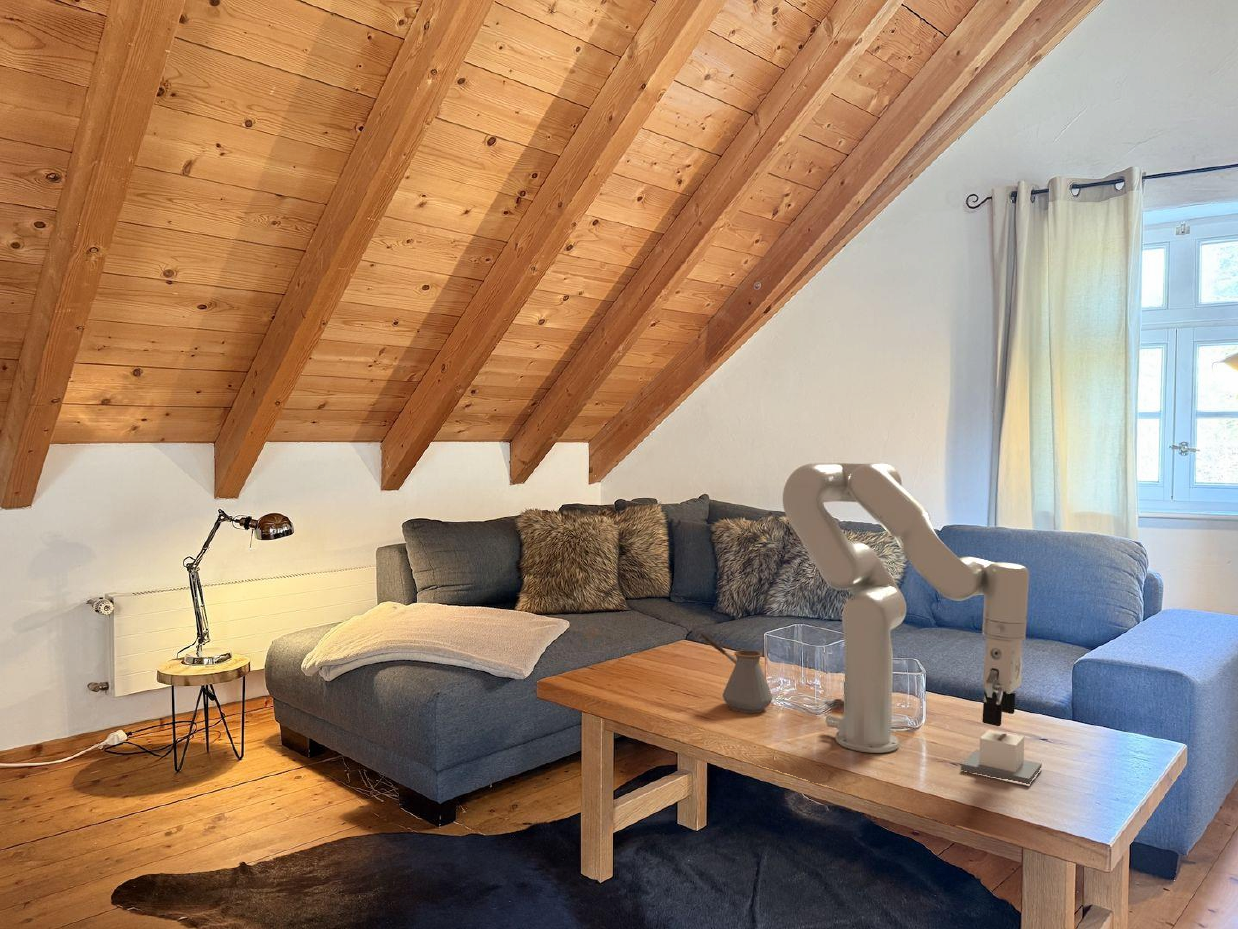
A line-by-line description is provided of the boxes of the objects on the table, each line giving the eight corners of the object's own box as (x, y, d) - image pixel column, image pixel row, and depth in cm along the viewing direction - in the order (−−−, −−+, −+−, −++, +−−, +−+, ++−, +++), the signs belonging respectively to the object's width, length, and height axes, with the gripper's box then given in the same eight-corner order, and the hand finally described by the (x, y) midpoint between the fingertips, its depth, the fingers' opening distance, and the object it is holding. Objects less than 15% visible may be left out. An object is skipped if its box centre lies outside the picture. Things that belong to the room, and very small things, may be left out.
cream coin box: (1015, 772, 166) (1015, 744, 166) (979, 764, 170) (979, 737, 169) (1023, 762, 171) (1024, 735, 171) (988, 755, 175) (989, 728, 174)
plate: (960, 771, 170) (961, 763, 170) (975, 757, 178) (976, 749, 178) (1028, 787, 163) (1029, 778, 163) (1041, 771, 171) (1041, 763, 171)
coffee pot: (782, 709, 208) (783, 645, 208) (749, 719, 200) (750, 652, 200) (714, 689, 224) (715, 629, 224) (682, 697, 217) (683, 635, 216)
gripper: (1013, 640, 160) (1007, 734, 161) (1036, 625, 174) (1030, 712, 175) (970, 632, 165) (964, 724, 166) (995, 618, 179) (990, 703, 180)
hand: (998, 718), depth 170 cm, fingers open, 9 cm apart
